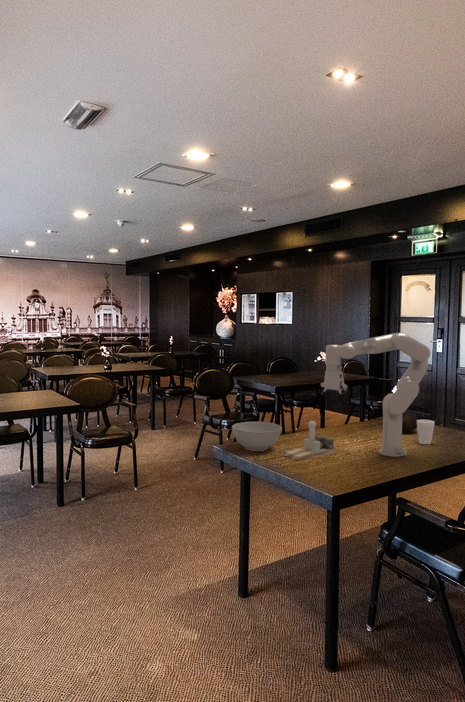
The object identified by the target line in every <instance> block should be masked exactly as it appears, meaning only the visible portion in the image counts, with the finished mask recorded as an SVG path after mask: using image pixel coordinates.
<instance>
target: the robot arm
mask: <svg viewBox="0 0 465 702" xmlns="http://www.w3.org/2000/svg"><path fill="white" fill-rule="evenodd" d="M395 350H398V351H400V352H402V353H404V354H406V355H407V356H408V357H410V364H409V366H408V367H407V369H406V371H405V372H404V373H403V374H402V376H401V377H400V378H399V380H398V381H397V382H396V390H395V392H394V393H393V392H392V393H391V392H390V393H387V395H385V396H384V397H383V399H382V438H381V439H382V443H381V448H380V449H379V450H378V453H379V454H380V455H381V456H385V457H391V458H392V457H394V458H399V457H404V456H405V455H407V454H408V449H404V446H403V445H402V436H403V433H402V413H404V412H405V411H406V409H407V408H408V409H409V407H410V405H411V404H412V403H413V402H414V400H415V399H416V398H417V396H418V394H419V393H420V385H419V384H420V382H421V381H422V379H423V378H424V376H425V375H426V374H427V371H428V367H429V358H430V357H431V350H430V348H429V347H428V346H427V345H425V344H424V343H421V342H420V341H418V340H417V339H415V338H413V337H411V336H409V335H408V334H406V333H403V332H394V333H389V334H384V335H380V336H374V337H370V338H366V339H361V340H356V341H351V342H347V343H344V344H341V345H340V344H327V345H326V346H325V369H326V370H325V371H324V372H325V373H324V379H323V380H324V381H323V382H321V383H320V387H321V390H322V392H323V393H324V394H323V395H324V397H323V398H324V401H327V400H330V391H331V390H332V391H338V393H339V394H338V402H341V403H343V402H344V400H345V398H344V397H345V393H346V392H347V390H348V387H349V386H348V384H346V383H345V380H344V378H345V377H344V373H343V370H342V369H343V367H342V366H341V365H342V363H341V359H353V358H354V357H355V356H360V355H367V354H369V355H376V354H381V353H386V352H392V351H395Z"/></svg>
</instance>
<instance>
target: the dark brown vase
mask: <svg viewBox="0 0 465 702" xmlns="http://www.w3.org/2000/svg"><path fill="white" fill-rule="evenodd" d="M417 420H419V417H418V416H417V415H416V414H415V413H413V412H410V410H409V407H408V408H407V409H406V411H405V412H404V413H402V434H410V433H413V432H414V431H415V430H416V429H417ZM409 432H410V433H409Z"/></svg>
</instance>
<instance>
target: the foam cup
mask: <svg viewBox="0 0 465 702" xmlns="http://www.w3.org/2000/svg"><path fill="white" fill-rule="evenodd" d="M435 422H436V421H434V420H431V419H418V420H417V428H416V429H417V437H418V444H419V443H421V444H432V439H433V434H434V428H435ZM421 444H420V445H421Z"/></svg>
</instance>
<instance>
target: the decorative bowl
mask: <svg viewBox="0 0 465 702" xmlns="http://www.w3.org/2000/svg"><path fill="white" fill-rule="evenodd" d="M282 429H283V427H282V426H281V425H280V424H277V423H273V422H268V421H267V422H266V421H244V422H237V423H234V424H233V425H232V426H231V431H232V434H233V435H234V438H235V439H236V441H237V442H238V443H239V444H240V446H242V447H244V450H246V449H248V450H252V451H262V452H265V451H264V450H266V451H268V450H267V449H269V448H270V447H272V446H273V445H274V444H275V443H276V442H277V440H278V439H279V437H280V436H281V432H282ZM248 450H247V451H248ZM252 451H251V452H252Z"/></svg>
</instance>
